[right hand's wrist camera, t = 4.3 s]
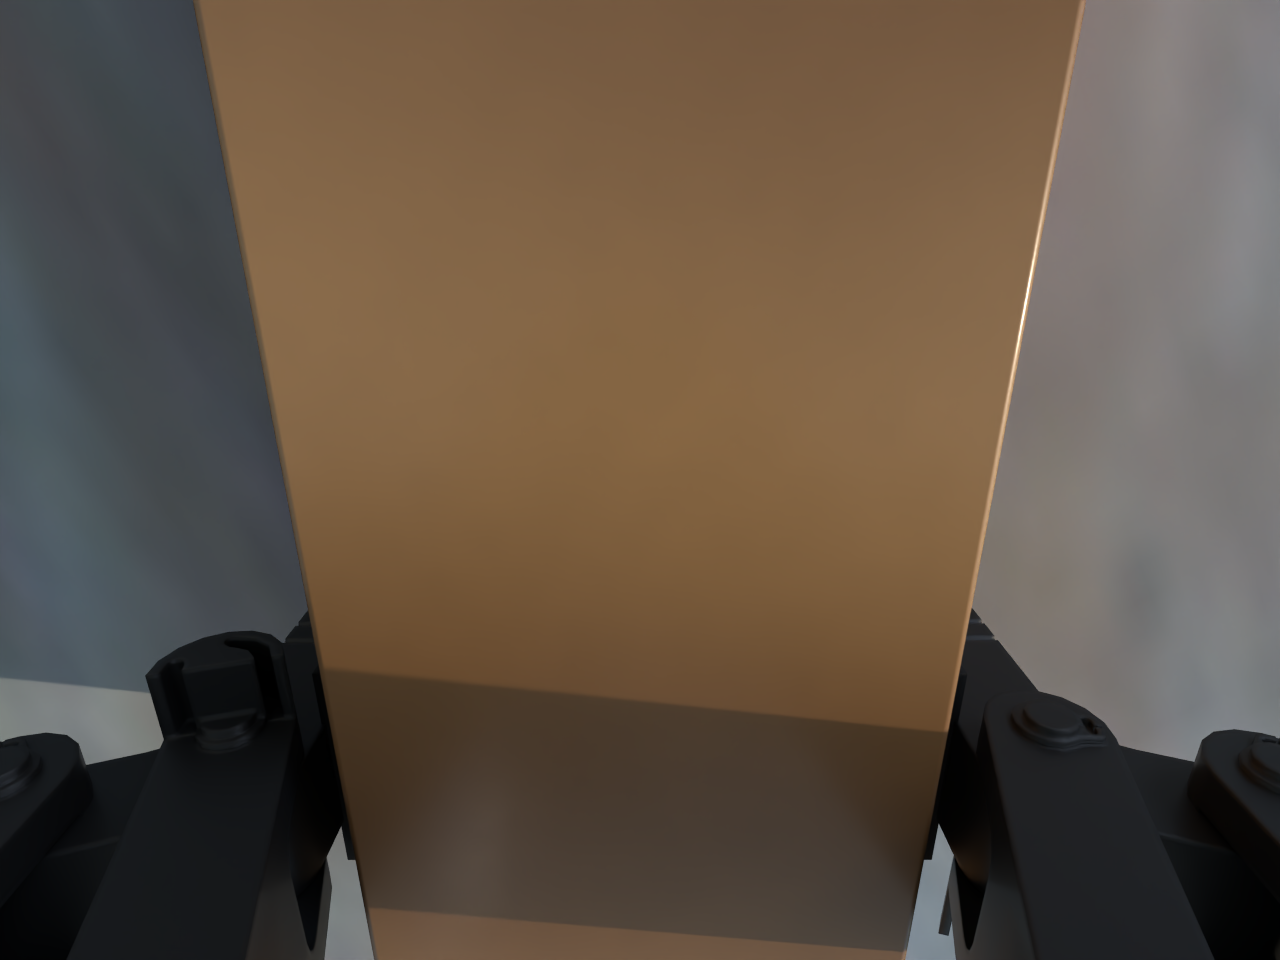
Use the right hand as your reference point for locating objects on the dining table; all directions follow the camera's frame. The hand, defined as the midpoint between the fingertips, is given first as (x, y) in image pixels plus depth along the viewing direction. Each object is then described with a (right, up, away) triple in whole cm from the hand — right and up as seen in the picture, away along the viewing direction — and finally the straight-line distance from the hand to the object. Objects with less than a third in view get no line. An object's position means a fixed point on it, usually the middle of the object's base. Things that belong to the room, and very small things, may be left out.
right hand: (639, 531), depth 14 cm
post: (0, +20, -7) cm, 21 cm away
